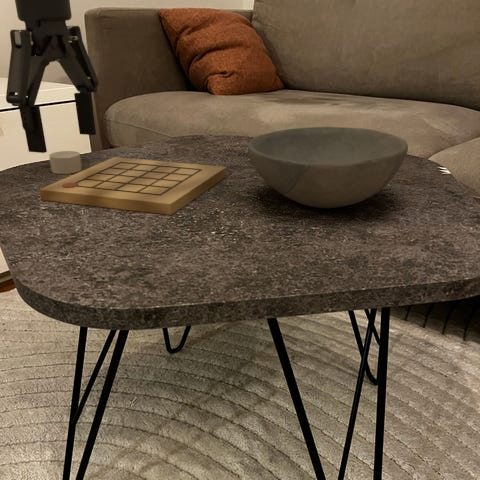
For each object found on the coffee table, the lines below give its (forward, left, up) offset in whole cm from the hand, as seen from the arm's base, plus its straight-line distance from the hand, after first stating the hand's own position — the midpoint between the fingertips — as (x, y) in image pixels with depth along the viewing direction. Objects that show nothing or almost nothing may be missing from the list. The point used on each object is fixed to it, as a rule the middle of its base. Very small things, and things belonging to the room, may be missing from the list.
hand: (64, 142), depth 94 cm
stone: (0, 0, -4) cm, 4 cm away
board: (+16, -5, -4) cm, 17 cm away
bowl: (+43, -2, -5) cm, 43 cm away
